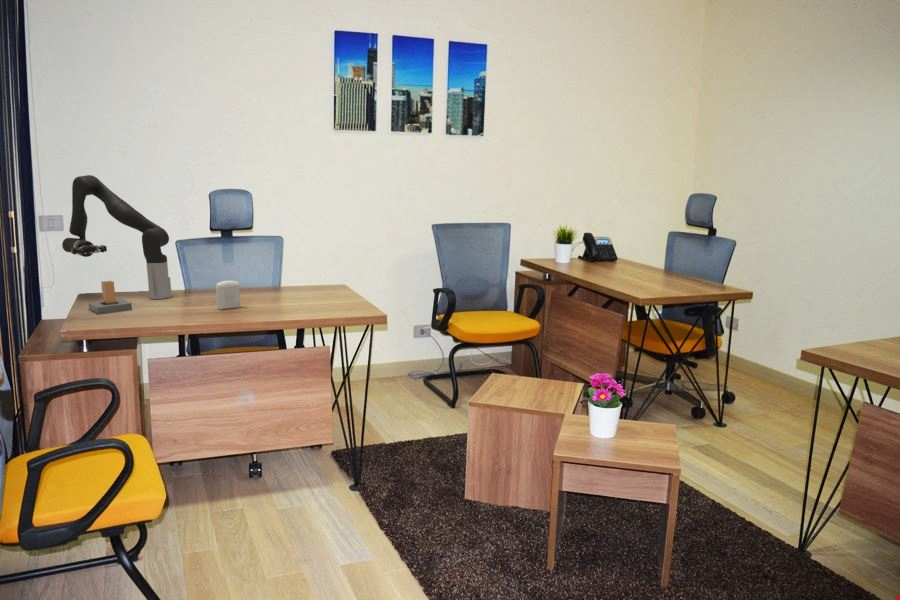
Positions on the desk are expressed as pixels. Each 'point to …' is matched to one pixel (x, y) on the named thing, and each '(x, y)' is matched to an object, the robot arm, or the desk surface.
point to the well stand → (110, 307)
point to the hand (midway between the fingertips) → (93, 251)
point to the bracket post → (108, 292)
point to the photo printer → (228, 294)
